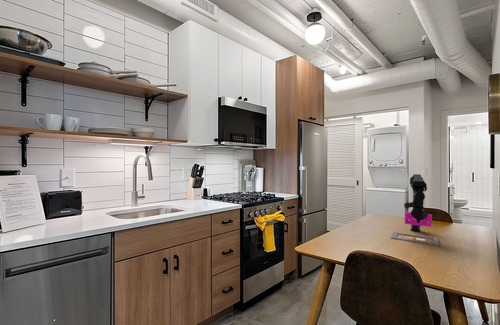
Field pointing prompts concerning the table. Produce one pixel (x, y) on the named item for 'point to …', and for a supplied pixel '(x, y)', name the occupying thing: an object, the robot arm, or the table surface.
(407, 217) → the toy block
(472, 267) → the table surface
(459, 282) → the table surface
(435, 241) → the frame
